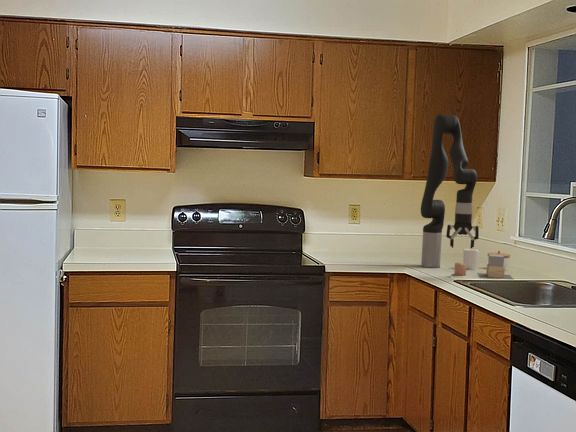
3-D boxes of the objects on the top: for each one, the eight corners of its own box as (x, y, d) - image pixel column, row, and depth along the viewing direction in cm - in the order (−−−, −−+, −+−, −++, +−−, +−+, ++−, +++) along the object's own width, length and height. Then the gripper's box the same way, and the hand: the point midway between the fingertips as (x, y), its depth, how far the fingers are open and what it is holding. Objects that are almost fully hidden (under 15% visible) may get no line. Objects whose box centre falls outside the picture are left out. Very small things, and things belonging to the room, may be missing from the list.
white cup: (458, 268, 367) (460, 248, 366) (472, 268, 370) (473, 248, 369) (468, 271, 360) (469, 251, 359) (482, 271, 362) (483, 250, 361)
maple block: (486, 274, 348) (487, 263, 347) (501, 275, 347) (502, 264, 346) (488, 276, 341) (488, 266, 340) (504, 277, 340) (504, 266, 339)
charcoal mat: (476, 274, 351) (476, 272, 351) (509, 276, 349) (509, 274, 349) (479, 279, 338) (480, 277, 338) (514, 281, 336) (514, 279, 336)
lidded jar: (511, 269, 372) (512, 250, 371) (506, 272, 362) (507, 253, 362) (490, 267, 377) (491, 248, 376) (484, 269, 368) (485, 250, 367)
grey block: (488, 264, 347) (488, 254, 346) (501, 264, 346) (502, 255, 345) (489, 265, 341) (490, 256, 340) (503, 266, 340) (504, 256, 339)
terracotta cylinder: (453, 275, 347) (454, 262, 346) (465, 276, 346) (465, 263, 346) (454, 277, 342) (455, 264, 341) (466, 277, 341) (466, 264, 340)
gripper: (478, 212, 344) (476, 247, 345) (447, 211, 346) (445, 246, 347) (480, 213, 337) (478, 249, 338) (448, 212, 339) (446, 248, 340)
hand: (461, 247), depth 343 cm, fingers open, 8 cm apart
